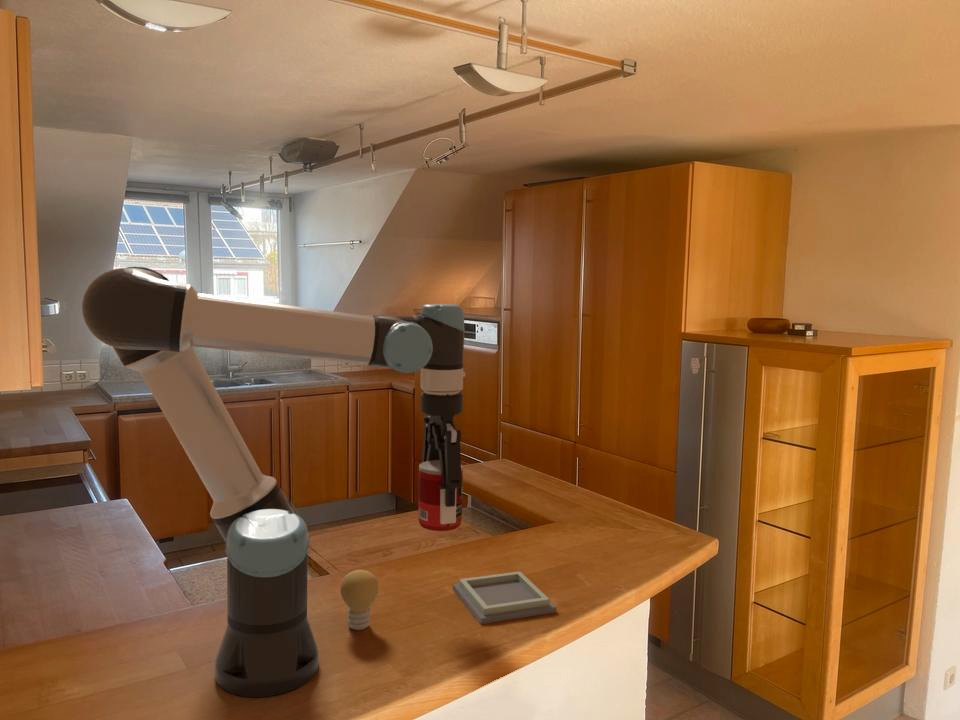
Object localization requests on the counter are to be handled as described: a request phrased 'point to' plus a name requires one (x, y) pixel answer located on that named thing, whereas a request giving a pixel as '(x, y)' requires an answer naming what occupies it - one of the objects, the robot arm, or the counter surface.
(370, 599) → the light bulb
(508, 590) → the coaster
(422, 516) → the canned food
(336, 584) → the counter surface
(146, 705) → the counter surface
